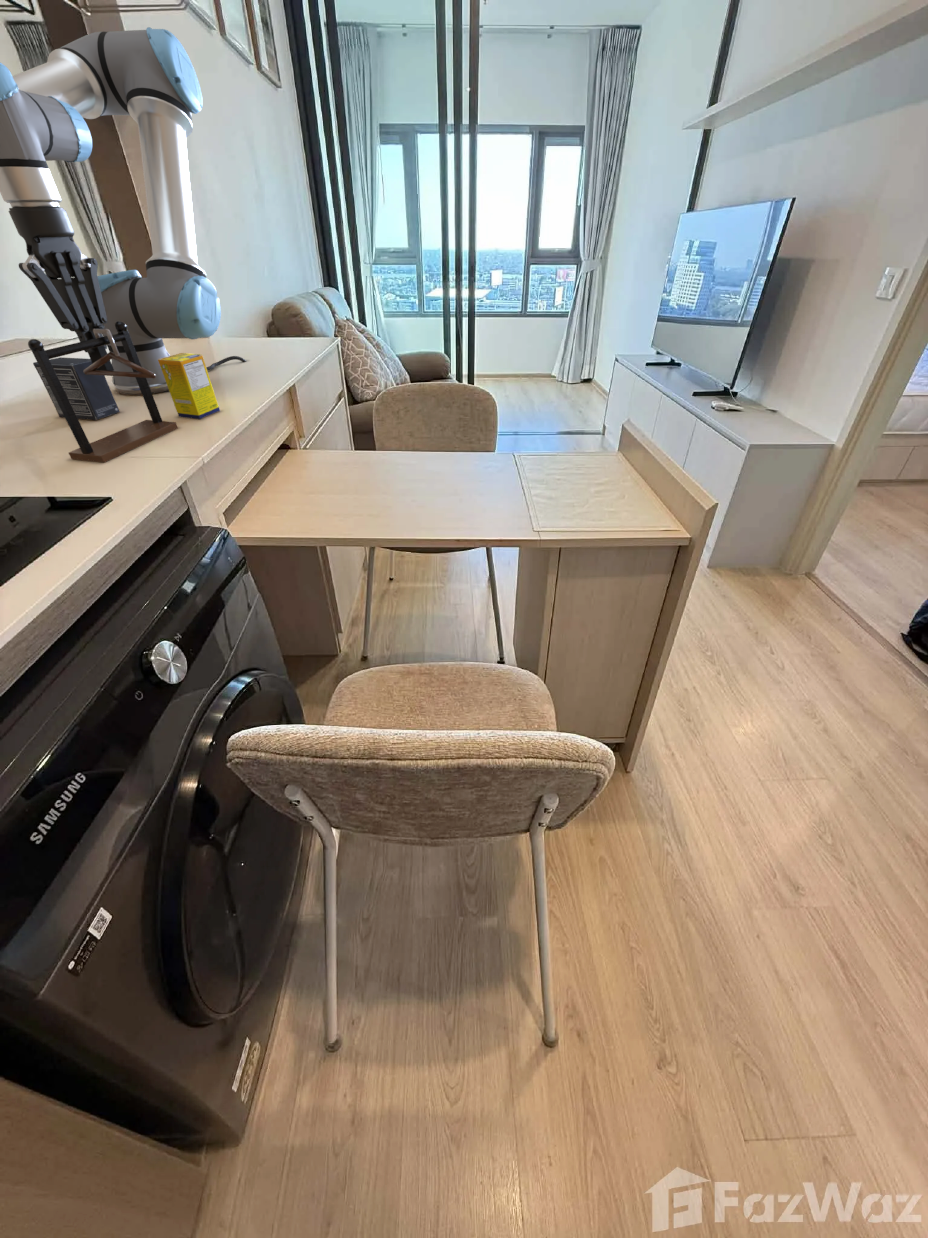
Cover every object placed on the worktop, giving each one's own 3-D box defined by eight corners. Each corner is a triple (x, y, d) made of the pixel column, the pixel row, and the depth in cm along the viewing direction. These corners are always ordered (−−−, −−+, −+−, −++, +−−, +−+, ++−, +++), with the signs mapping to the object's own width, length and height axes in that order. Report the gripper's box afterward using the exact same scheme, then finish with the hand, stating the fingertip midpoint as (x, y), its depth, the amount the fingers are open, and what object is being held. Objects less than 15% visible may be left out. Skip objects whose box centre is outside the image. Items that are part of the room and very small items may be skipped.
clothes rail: (149, 425, 101) (106, 319, 89) (178, 428, 99) (139, 320, 88) (71, 459, 87) (9, 339, 76) (103, 462, 85) (45, 340, 74)
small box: (122, 411, 108) (99, 357, 102) (97, 421, 103) (71, 365, 97) (85, 408, 111) (60, 355, 104) (58, 417, 106) (30, 362, 100)
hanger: (87, 373, 92) (66, 327, 87) (157, 377, 88) (139, 329, 83) (83, 375, 91) (62, 328, 86) (154, 379, 87) (135, 330, 83)
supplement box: (199, 408, 109) (180, 352, 102) (220, 411, 107) (203, 353, 100) (177, 417, 105) (156, 358, 98) (200, 419, 103) (180, 360, 96)
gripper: (53, 206, 84) (116, 362, 99) (-25, 205, 75) (58, 378, 89) (89, 205, 83) (148, 363, 97) (14, 204, 73) (92, 380, 88)
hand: (105, 370), depth 93 cm, fingers closed
